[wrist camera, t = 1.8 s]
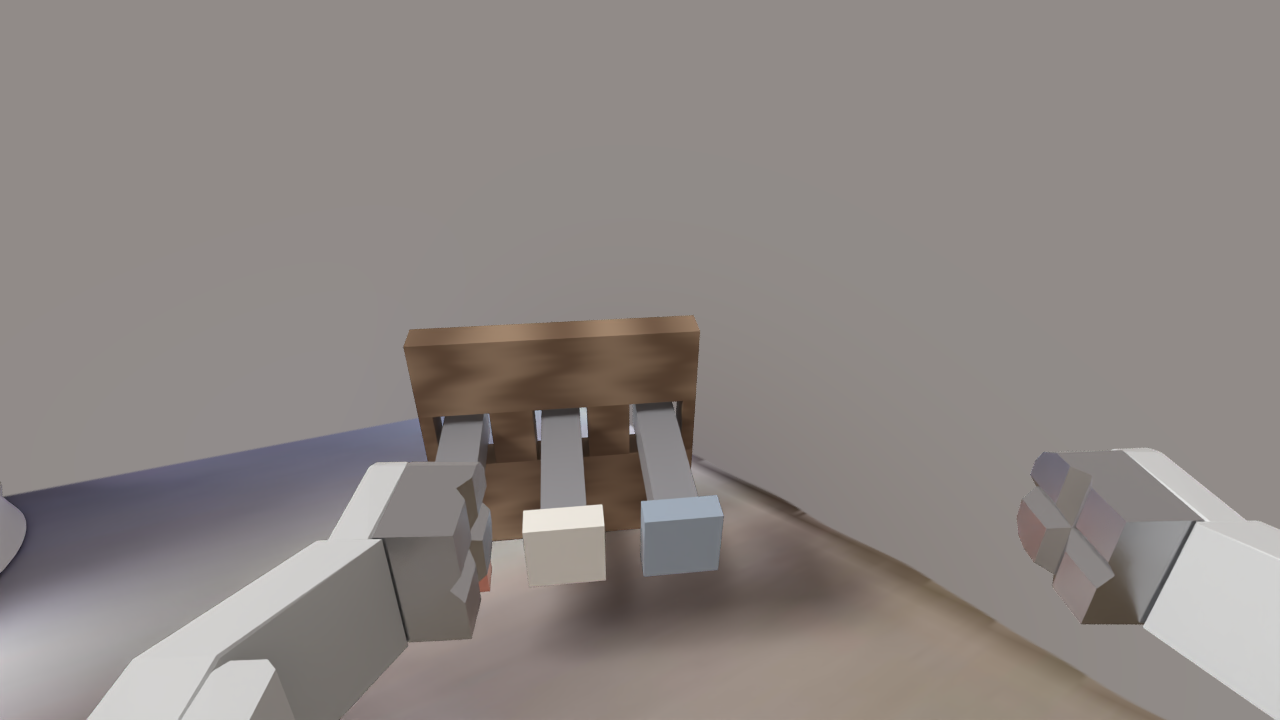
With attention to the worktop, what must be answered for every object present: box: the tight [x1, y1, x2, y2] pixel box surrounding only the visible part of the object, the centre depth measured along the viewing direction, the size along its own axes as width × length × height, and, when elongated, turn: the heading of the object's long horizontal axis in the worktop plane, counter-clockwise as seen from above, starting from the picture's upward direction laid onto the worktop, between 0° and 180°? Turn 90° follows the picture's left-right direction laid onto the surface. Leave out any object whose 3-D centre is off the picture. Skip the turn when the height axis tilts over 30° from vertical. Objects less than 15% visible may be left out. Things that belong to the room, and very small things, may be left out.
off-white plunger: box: [522, 408, 606, 587], centre depth 38 cm, size 4×12×4 cm, turn 7°
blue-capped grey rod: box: [633, 402, 724, 577], centre depth 39 cm, size 4×12×4 cm, turn 7°
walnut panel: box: [404, 315, 700, 541], centre depth 43 cm, size 17×2×16 cm, turn 97°
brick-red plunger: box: [435, 414, 492, 592], centre depth 38 cm, size 4×12×4 cm, turn 7°
